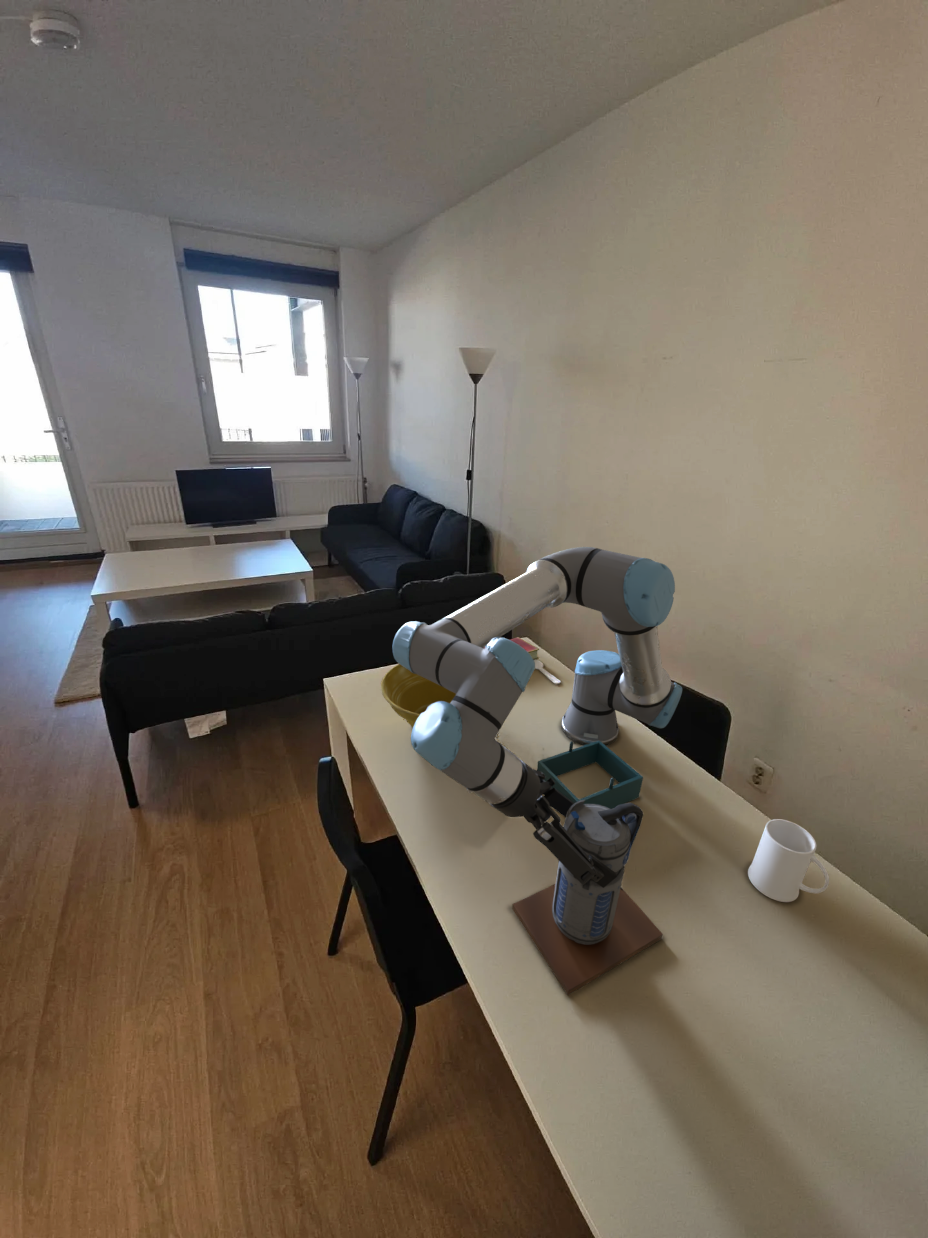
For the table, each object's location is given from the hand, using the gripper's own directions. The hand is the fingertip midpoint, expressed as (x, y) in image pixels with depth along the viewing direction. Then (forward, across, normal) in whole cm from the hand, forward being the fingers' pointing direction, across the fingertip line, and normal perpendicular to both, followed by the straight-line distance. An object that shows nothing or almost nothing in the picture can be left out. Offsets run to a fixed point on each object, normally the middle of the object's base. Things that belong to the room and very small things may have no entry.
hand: (589, 843), depth 80 cm
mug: (+43, +1, +16) cm, 46 cm away
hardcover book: (+25, -96, -2) cm, 99 cm away
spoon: (+32, -86, +5) cm, 92 cm away
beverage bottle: (+14, 0, -12) cm, 18 cm away
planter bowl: (+5, -62, -23) cm, 66 cm away
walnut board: (+15, 0, -12) cm, 19 cm away
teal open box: (+25, -31, -2) cm, 40 cm away
